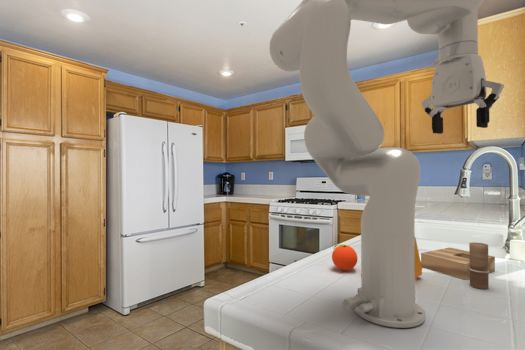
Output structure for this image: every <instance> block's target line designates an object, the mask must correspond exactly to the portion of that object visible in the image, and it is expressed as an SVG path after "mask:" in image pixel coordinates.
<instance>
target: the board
mask: <svg viewBox="0 0 525 350" xmlns="http://www.w3.org/2000/svg"><path fill="white" fill-rule="evenodd" d="M495 257H496V256H494V255H493V256H492V255H489V254H488V270H489V272H488V274H490V273H494V272H495V271H496V258H495ZM420 261H421V266H422V269H423V268H424V269H427V270H430V271H433V272H437V273H441V274H444V275H447V276H451V277H454V278H458V279H462V280H470V270H469V267H470V258H469V250H465V249H459V248H454V247H446V248H441V249H436V250H435V249H434V250H430V251H423V252H421V253H420Z"/></svg>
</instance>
